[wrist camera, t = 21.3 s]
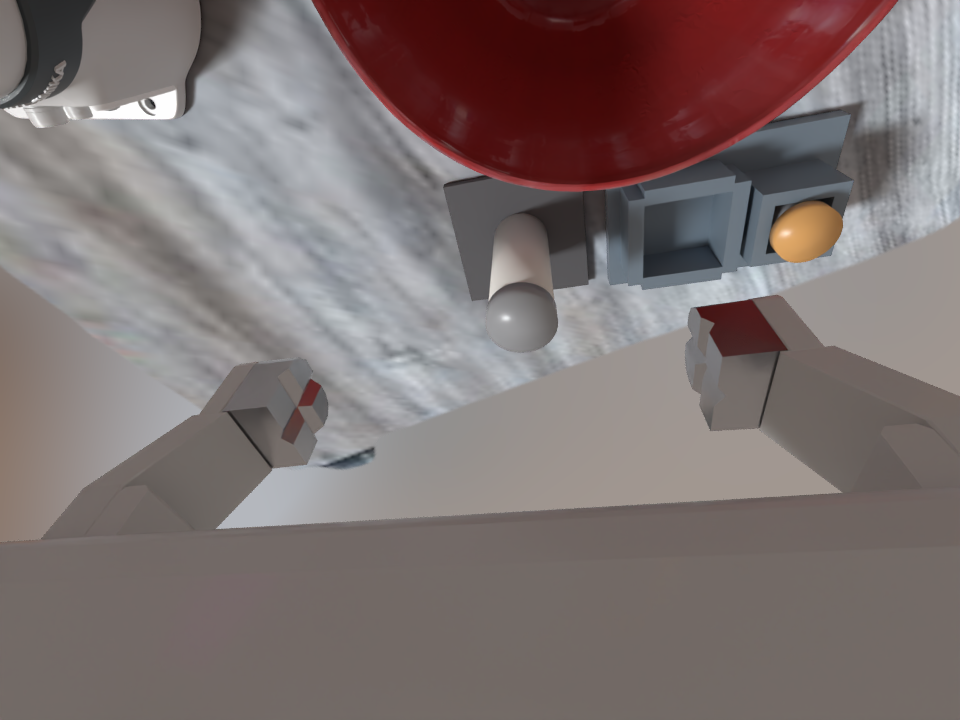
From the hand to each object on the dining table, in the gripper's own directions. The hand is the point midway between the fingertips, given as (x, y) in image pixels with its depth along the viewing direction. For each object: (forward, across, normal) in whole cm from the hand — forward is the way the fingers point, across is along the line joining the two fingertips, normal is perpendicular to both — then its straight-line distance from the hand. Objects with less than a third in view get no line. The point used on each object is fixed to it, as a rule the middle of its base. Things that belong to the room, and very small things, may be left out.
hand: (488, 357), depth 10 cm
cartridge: (+33, +1, +13) cm, 36 cm away
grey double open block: (+34, -16, +13) cm, 40 cm away
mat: (+34, +1, +13) cm, 36 cm away
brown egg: (+32, -20, +13) cm, 40 cm away
